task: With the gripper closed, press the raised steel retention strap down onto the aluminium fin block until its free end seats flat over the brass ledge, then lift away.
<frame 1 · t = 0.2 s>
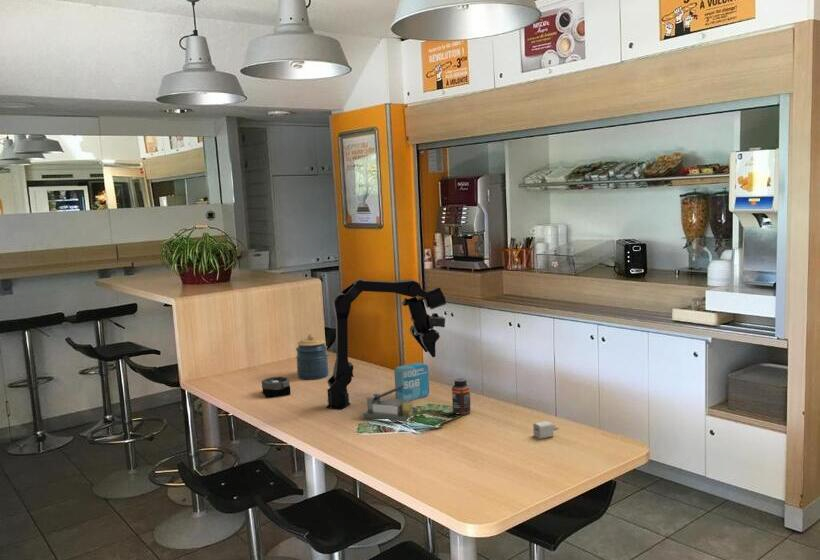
hand: (430, 354, 255), 15 cm above the table, fingers open, 9 cm apart
canister: (313, 376, 293), on the table
data package: (412, 398, 256), on the table
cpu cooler: (276, 394, 269), on the table
strap: (386, 393, 235), point 8 cm above the table, hinge at 25.0°
supplement bottle: (461, 413, 236), on the table
heatsink: (390, 416, 235), on the table
usb wall charger: (547, 436, 211), on the table
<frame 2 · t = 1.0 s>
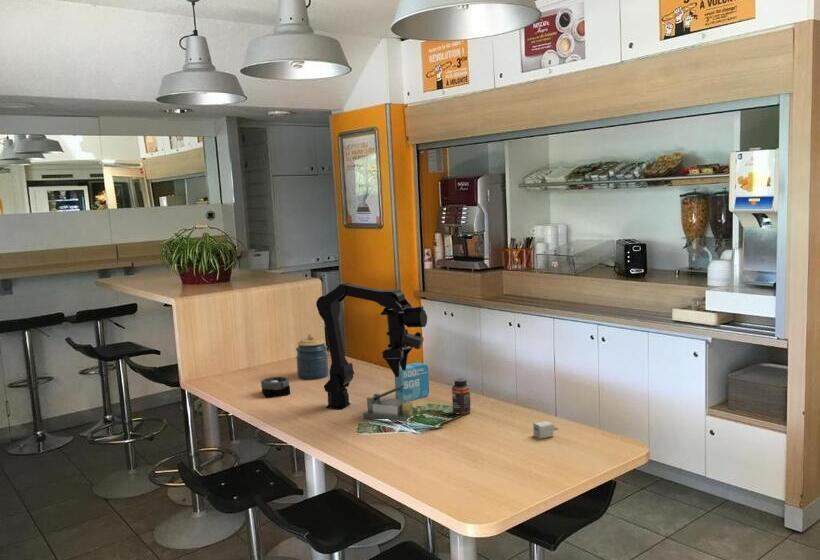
hand: (400, 373, 238), 13 cm above the table, fingers open, 9 cm apart
nothing on the table moved.
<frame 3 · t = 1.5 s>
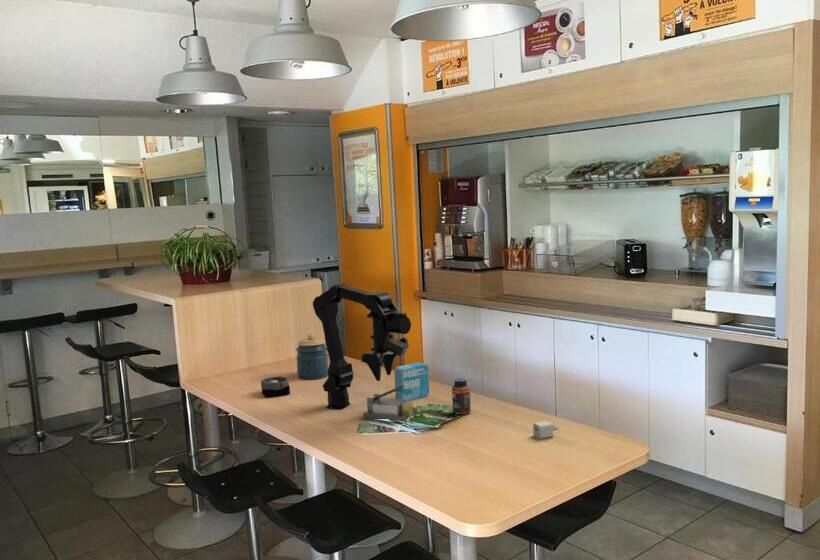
hand: (383, 377, 235), 13 cm above the table, fingers open, 7 cm apart
nothing on the table moved.
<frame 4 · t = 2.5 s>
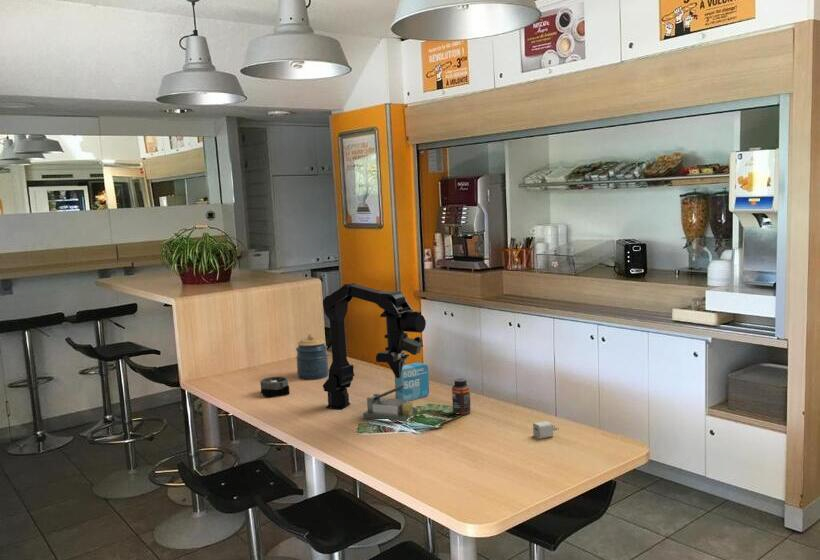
hand: (398, 377, 232), 13 cm above the table, fingers closed
nothing on the table moved.
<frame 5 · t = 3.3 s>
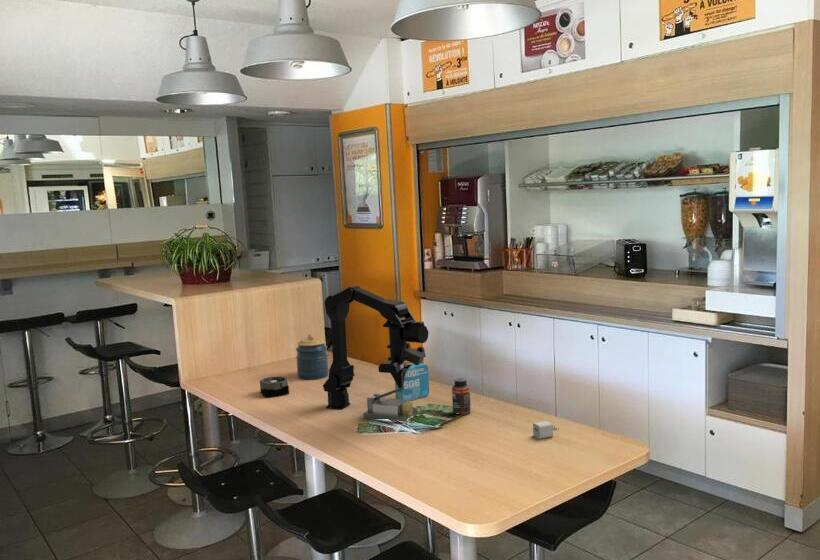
hand: (400, 387, 232), 10 cm above the table, fingers closed, pressing on strap
strap: (387, 394, 235), point 8 cm above the table, hinge at 22.6°, touching gripper
everything else where it was.
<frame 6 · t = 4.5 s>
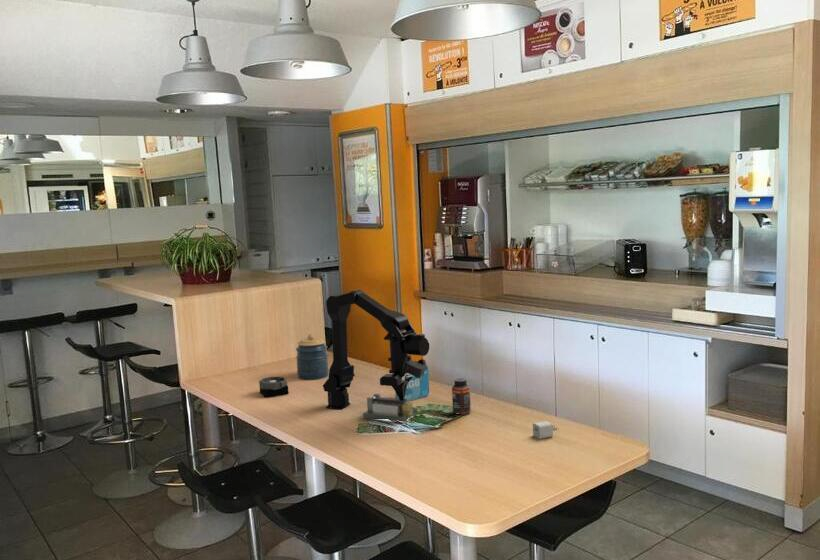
hand: (402, 400, 232), 6 cm above the table, fingers closed, pressing on strap
strap: (388, 399, 235), point 6 cm above the table, hinge at 1.5°, touching gripper
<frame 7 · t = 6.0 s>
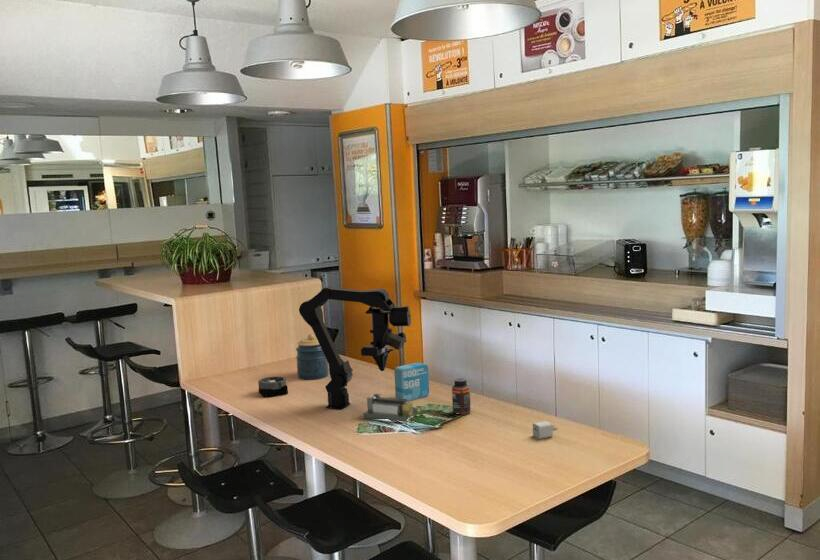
hand: (382, 370, 244), 13 cm above the table, fingers closed
strap: (388, 400, 235), point 6 cm above the table, hinge at 1.4°
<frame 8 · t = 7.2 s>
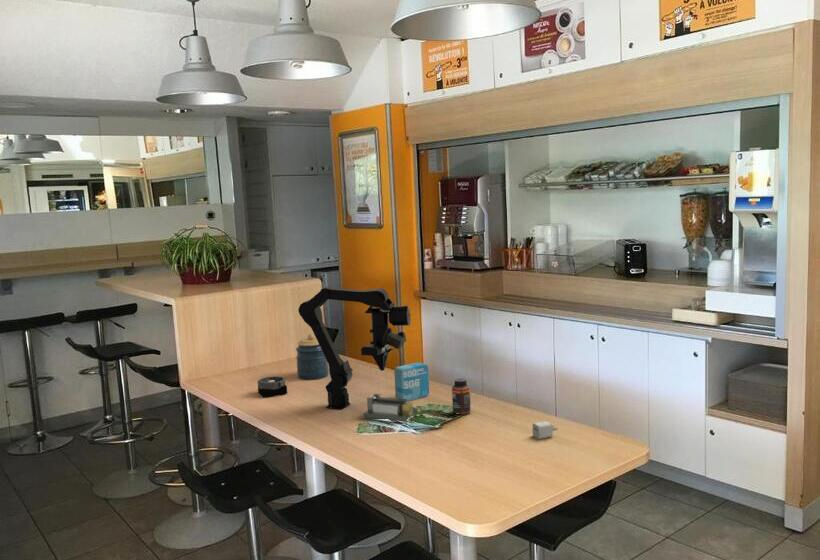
hand: (382, 370, 245), 13 cm above the table, fingers closed
at the end: strap at +1° (first picture: +25°); strap touching nothing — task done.
